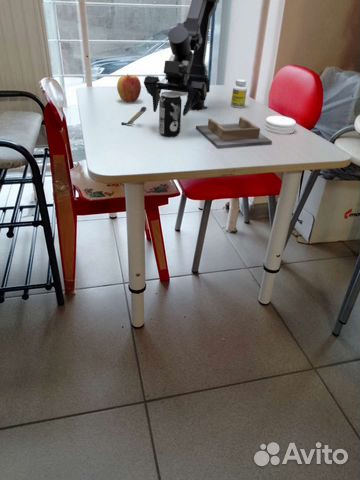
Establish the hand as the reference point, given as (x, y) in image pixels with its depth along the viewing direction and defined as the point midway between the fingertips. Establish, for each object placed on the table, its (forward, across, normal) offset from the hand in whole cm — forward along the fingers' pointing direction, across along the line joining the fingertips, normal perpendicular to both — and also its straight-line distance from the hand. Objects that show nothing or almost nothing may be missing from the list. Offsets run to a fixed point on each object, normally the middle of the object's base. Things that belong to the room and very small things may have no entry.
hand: (168, 113), depth 107 cm
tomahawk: (-5, -15, +15) cm, 22 cm away
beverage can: (+4, 0, +6) cm, 7 cm away
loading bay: (-1, +19, +10) cm, 21 cm away
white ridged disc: (-10, +33, +20) cm, 40 cm away
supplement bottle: (-27, +15, +37) cm, 48 cm away
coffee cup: (-33, -13, +43) cm, 55 cm away
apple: (-17, -26, +27) cm, 42 cm away
